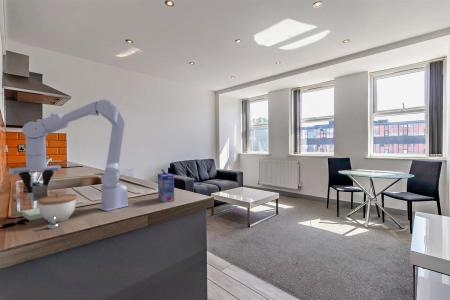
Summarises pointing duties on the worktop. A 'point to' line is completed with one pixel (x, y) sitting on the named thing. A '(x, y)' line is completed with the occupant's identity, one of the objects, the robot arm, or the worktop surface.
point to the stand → (32, 214)
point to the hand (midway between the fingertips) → (37, 191)
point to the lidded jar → (57, 206)
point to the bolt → (53, 223)
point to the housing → (37, 191)
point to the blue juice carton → (165, 186)
